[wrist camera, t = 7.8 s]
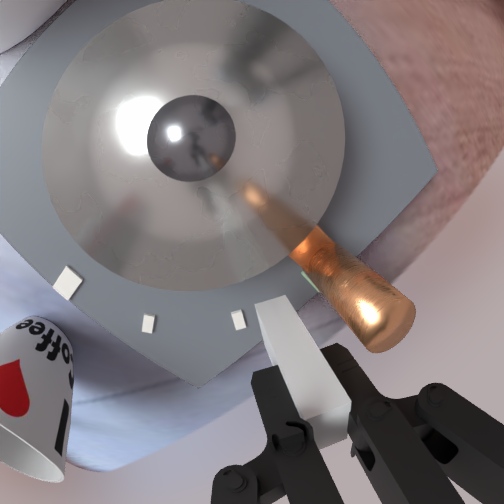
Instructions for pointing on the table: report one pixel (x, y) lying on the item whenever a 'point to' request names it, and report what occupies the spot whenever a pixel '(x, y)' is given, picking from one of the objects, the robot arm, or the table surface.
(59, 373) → the cup
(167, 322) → the board
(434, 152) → the table surface
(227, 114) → the dial
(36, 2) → the cup
